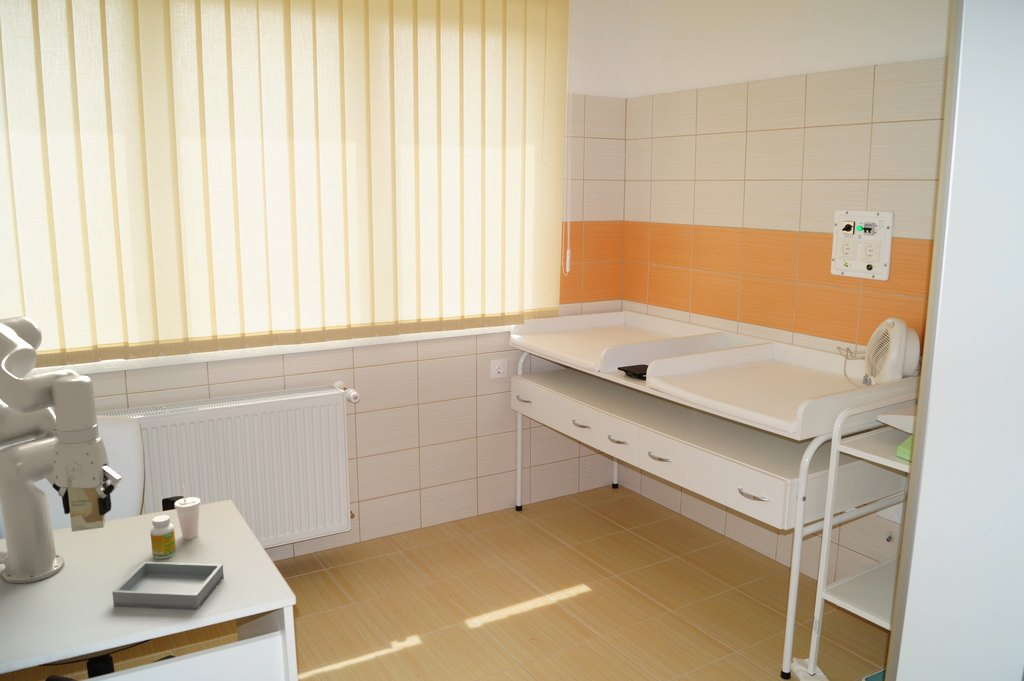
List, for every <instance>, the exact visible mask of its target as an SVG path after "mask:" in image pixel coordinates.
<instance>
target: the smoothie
mask: <svg viewBox="0 0 1024 681" xmlns="http://www.w3.org/2000/svg"><path fill="white" fill-rule="evenodd" d="M182 492H183V498H180V499H178V500H176V501H175V502H174V509H175V510H176V513H177V518H178V522H179V527H180V532H181V535H182V538H183V539H184V540H192V539H196V538H197V537H199V523H200V521H199V520H200V508H201V507H200V506H201V505H202V502H201V501H202V500H201V498H199V497H196V496H195V497H194V496H188V497H187V493H186V486H185V485H182ZM195 537H196V538H195Z"/></svg>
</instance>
